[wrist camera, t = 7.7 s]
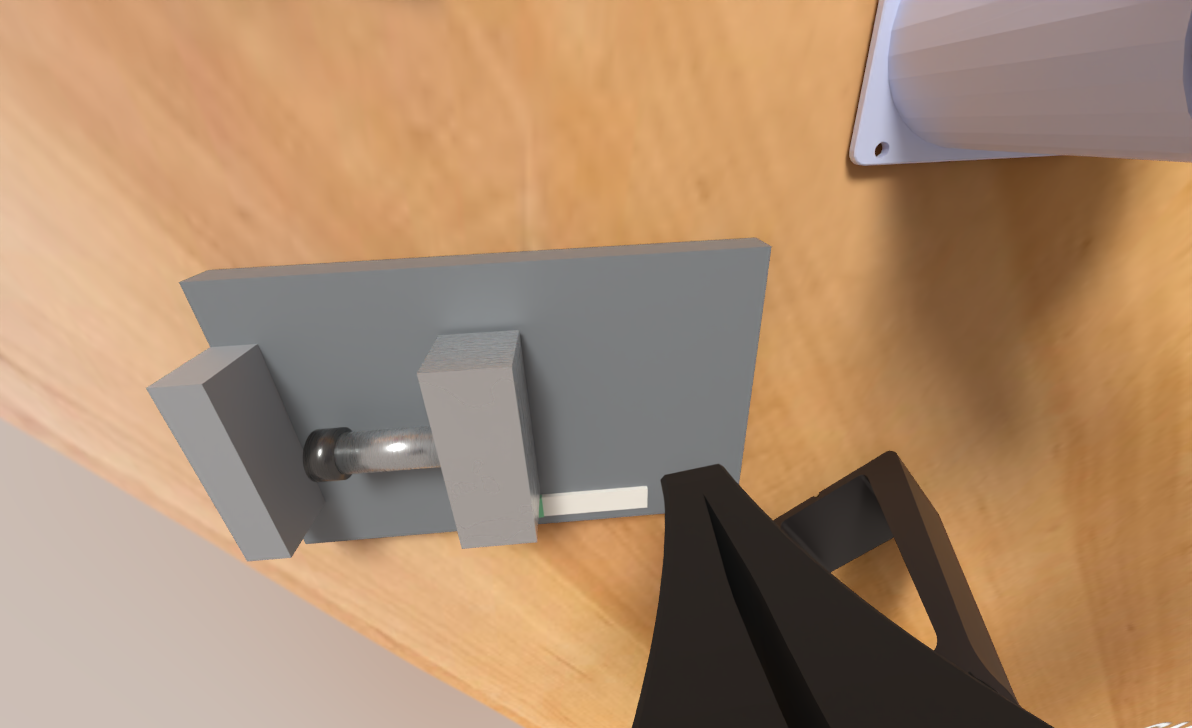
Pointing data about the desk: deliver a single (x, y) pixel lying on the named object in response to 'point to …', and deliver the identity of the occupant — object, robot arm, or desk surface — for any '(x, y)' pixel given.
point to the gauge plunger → (457, 439)
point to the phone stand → (901, 510)
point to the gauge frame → (453, 306)
